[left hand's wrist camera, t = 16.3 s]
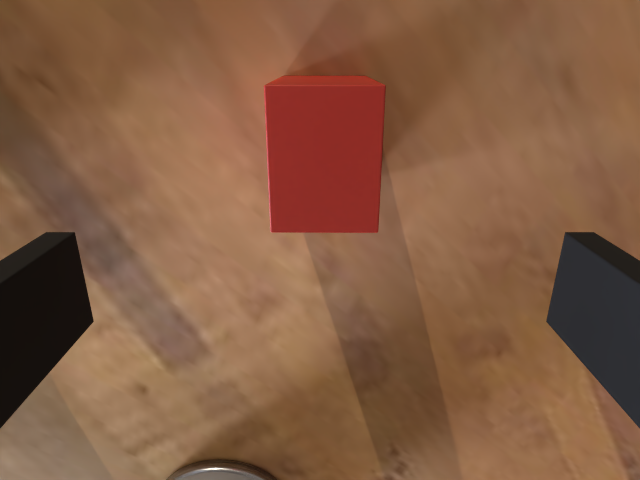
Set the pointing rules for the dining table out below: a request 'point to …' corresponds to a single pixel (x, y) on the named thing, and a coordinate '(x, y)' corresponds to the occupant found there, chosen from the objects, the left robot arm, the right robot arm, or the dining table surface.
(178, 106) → the dining table surface
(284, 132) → the block
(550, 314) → the left robot arm
